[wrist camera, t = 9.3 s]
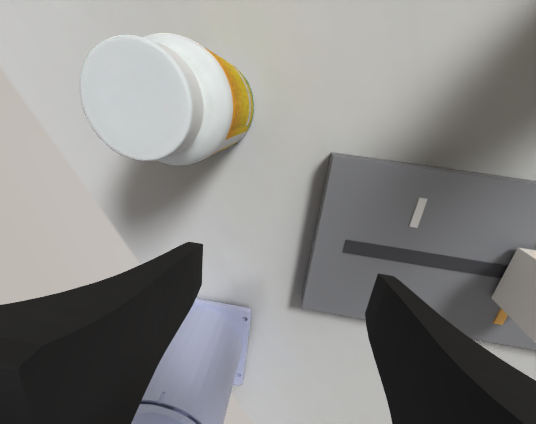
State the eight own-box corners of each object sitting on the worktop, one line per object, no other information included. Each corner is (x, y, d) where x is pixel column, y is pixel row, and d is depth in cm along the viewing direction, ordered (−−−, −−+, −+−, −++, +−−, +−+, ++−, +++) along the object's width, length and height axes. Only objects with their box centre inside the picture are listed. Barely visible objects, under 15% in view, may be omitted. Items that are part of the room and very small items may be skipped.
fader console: (580, 345, 21) (601, 363, 20) (301, 296, 23) (301, 309, 21) (687, 202, 17) (724, 211, 15) (331, 152, 18) (333, 156, 17)
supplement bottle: (220, 162, 19) (150, 209, 10) (162, 105, 18) (32, 105, 10) (273, 104, 18) (243, 103, 9) (212, 39, 17) (108, -39, 8)
